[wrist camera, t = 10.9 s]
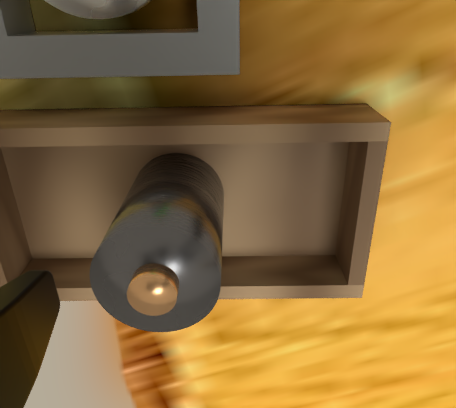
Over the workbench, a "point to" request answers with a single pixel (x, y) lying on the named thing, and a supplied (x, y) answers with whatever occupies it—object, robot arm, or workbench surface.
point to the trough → (229, 175)
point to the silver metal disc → (98, 7)
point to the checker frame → (120, 47)
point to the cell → (163, 247)
